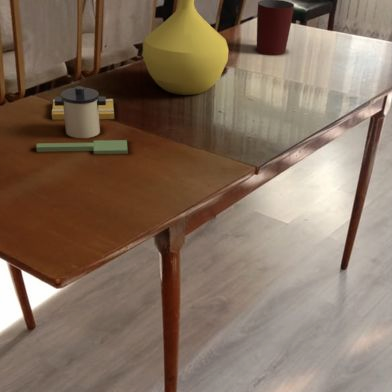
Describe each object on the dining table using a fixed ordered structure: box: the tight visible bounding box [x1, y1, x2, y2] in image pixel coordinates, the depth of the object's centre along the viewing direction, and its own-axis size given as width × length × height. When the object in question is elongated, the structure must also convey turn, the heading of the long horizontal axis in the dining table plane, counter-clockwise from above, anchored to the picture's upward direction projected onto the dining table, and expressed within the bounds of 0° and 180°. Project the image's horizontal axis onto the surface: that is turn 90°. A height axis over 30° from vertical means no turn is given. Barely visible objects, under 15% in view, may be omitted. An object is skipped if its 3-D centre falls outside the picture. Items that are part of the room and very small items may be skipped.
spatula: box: [35, 139, 129, 155], centre depth 112 cm, size 16×4×1 cm, turn 97°
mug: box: [256, 0, 295, 56], centre depth 159 cm, size 12×9×11 cm
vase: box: [142, 0, 229, 96], centre depth 133 cm, size 18×18×19 cm
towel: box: [51, 98, 115, 120], centre depth 125 cm, size 12×8×1 cm, turn 97°
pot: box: [54, 85, 107, 139], centre depth 116 cm, size 9×7×8 cm
